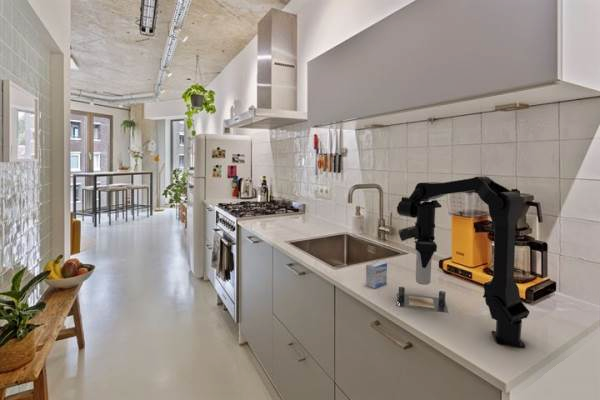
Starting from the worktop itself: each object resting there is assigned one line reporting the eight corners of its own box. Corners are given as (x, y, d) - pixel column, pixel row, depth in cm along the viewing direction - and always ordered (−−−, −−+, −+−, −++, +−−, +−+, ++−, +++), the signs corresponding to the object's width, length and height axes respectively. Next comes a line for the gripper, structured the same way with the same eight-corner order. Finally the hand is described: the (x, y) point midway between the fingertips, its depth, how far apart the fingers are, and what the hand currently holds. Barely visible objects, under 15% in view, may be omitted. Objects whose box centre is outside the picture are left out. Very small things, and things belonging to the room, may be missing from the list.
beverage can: (420, 285, 109) (422, 250, 108) (412, 280, 114) (413, 246, 113) (433, 284, 111) (435, 249, 109) (424, 279, 115) (426, 246, 114)
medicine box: (374, 289, 125) (375, 266, 124) (365, 285, 128) (365, 264, 127) (386, 284, 130) (387, 262, 129) (377, 281, 133) (378, 260, 132)
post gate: (448, 314, 105) (449, 299, 104) (396, 308, 110) (397, 293, 109) (444, 300, 116) (444, 286, 116) (397, 294, 121) (397, 281, 120)
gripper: (400, 214, 121) (399, 256, 123) (399, 223, 103) (398, 271, 105) (433, 216, 118) (431, 258, 119) (438, 225, 100) (435, 275, 102)
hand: (423, 265), depth 112 cm, fingers closed on beverage can, 5 cm apart
